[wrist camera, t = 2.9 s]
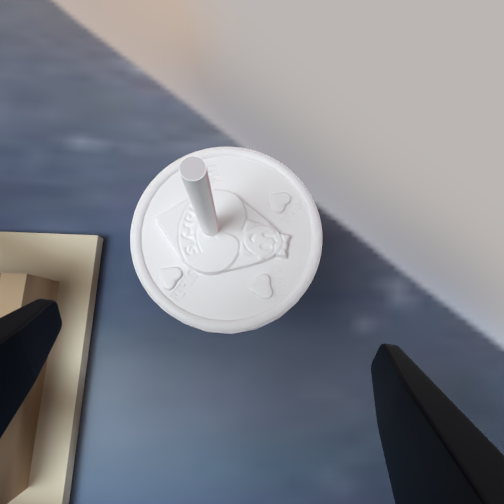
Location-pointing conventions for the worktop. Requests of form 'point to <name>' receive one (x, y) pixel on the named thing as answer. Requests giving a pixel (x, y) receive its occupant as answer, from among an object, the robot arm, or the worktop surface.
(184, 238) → the smoothie
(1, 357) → the robot arm
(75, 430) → the bottle stand
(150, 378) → the worktop surface
